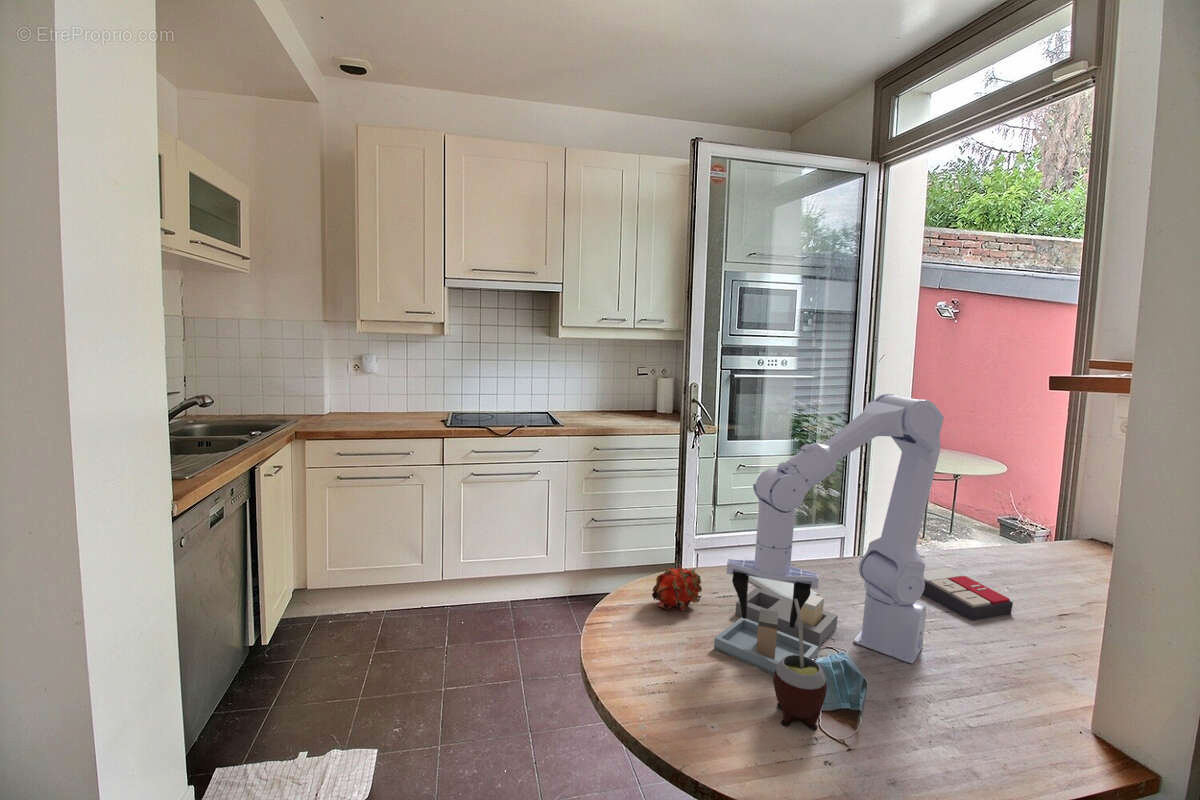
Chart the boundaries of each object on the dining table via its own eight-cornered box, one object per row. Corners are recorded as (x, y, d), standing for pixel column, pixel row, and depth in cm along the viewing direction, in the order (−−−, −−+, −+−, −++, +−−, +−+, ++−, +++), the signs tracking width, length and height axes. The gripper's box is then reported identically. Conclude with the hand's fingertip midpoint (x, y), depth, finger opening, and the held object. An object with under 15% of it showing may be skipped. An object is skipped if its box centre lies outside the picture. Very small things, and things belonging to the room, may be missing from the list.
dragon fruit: (703, 607, 116) (656, 630, 109) (679, 572, 120) (633, 592, 114) (719, 586, 110) (671, 609, 104) (694, 550, 115) (646, 570, 108)
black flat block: (974, 605, 110) (910, 569, 124) (970, 626, 111) (907, 588, 125) (1014, 599, 114) (948, 564, 128) (1011, 618, 115) (945, 582, 129)
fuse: (821, 628, 106) (824, 597, 105) (812, 637, 103) (815, 606, 102) (805, 622, 108) (807, 592, 107) (795, 631, 104) (798, 600, 104)
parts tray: (817, 657, 96) (818, 646, 96) (793, 683, 89) (794, 671, 88) (741, 627, 105) (741, 616, 105) (713, 648, 98) (714, 637, 97)
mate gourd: (803, 742, 76) (813, 636, 74) (755, 709, 82) (763, 610, 81) (835, 721, 81) (845, 620, 79) (787, 691, 87) (795, 597, 85)
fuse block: (836, 627, 106) (837, 615, 106) (818, 646, 100) (820, 633, 99) (756, 598, 117) (757, 587, 116) (735, 614, 110) (736, 602, 110)
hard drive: (748, 575, 125) (790, 600, 114) (776, 569, 129) (819, 592, 118) (747, 582, 126) (790, 607, 115) (775, 576, 129) (819, 600, 118)
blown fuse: (775, 645, 99) (778, 612, 98) (774, 658, 94) (777, 624, 94) (757, 641, 100) (760, 608, 99) (756, 655, 95) (758, 621, 95)
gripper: (819, 541, 96) (812, 617, 98) (731, 528, 101) (726, 601, 102) (821, 556, 89) (814, 638, 91) (727, 542, 94) (722, 620, 96)
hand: (767, 620), depth 96 cm, fingers open, 7 cm apart
